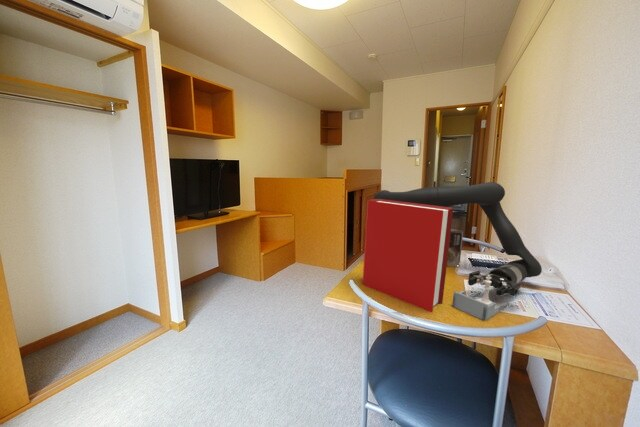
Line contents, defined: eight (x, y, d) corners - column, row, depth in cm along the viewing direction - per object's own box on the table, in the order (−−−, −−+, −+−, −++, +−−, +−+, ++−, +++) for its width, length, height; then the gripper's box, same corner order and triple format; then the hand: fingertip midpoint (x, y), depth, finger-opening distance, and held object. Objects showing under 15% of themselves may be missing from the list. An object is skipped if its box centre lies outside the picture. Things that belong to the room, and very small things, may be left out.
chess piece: (473, 300, 92) (476, 272, 90) (486, 300, 92) (490, 272, 91) (482, 307, 87) (487, 278, 85) (497, 307, 88) (501, 278, 86)
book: (442, 303, 89) (453, 207, 84) (432, 312, 83) (443, 210, 78) (372, 278, 108) (377, 198, 102) (360, 284, 102) (365, 200, 97)
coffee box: (460, 263, 127) (464, 230, 124) (458, 267, 122) (462, 233, 119) (439, 259, 132) (442, 227, 129) (436, 263, 127) (440, 230, 124)
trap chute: (452, 306, 88) (453, 291, 87) (478, 293, 97) (479, 280, 96) (484, 320, 80) (487, 305, 79) (509, 305, 89) (511, 291, 88)
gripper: (485, 260, 101) (462, 269, 92) (531, 273, 90) (510, 284, 81) (482, 279, 103) (460, 289, 93) (527, 294, 91) (506, 308, 82)
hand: (483, 287), depth 87 cm, fingers open, 8 cm apart
